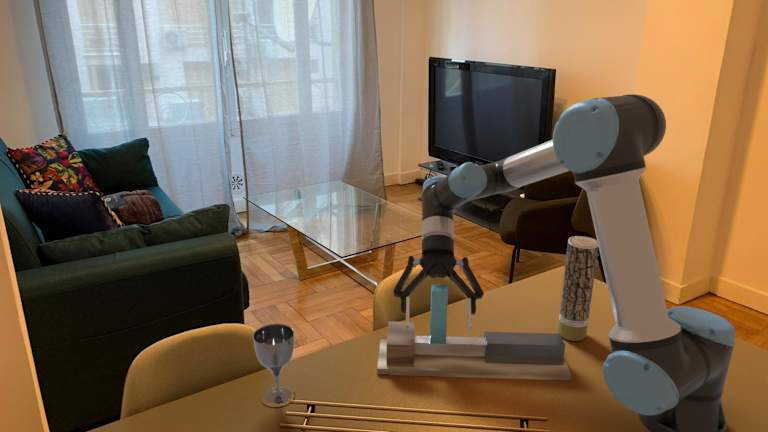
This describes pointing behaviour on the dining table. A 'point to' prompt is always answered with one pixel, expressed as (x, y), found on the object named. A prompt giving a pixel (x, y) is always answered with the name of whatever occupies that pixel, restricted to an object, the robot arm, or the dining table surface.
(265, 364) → the wine glass
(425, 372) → the birch board
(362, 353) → the dining table surface
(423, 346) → the sliding bolt
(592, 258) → the bark log
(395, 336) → the walnut socket
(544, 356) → the steel sleeve
